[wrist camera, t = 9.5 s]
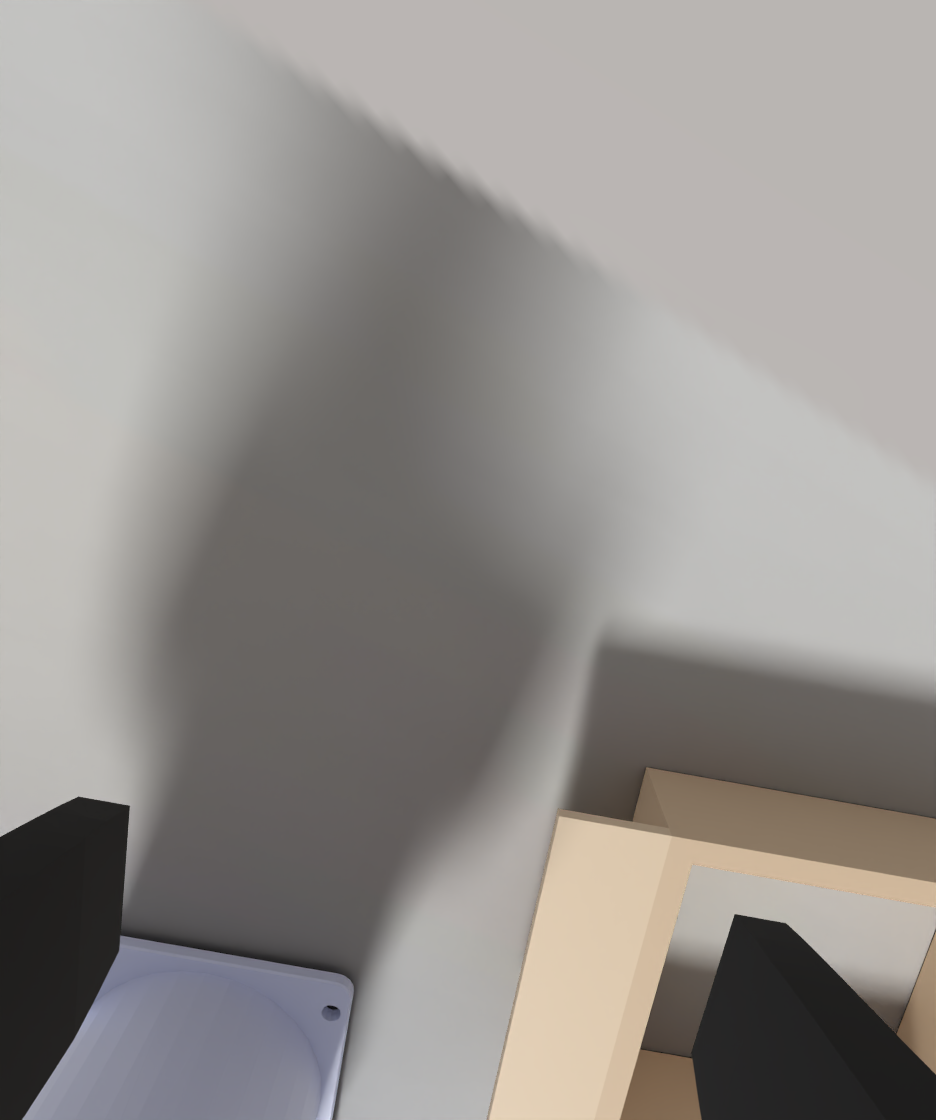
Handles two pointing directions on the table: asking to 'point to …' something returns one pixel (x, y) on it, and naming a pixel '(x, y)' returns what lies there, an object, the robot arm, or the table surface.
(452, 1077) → the table surface
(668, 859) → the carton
